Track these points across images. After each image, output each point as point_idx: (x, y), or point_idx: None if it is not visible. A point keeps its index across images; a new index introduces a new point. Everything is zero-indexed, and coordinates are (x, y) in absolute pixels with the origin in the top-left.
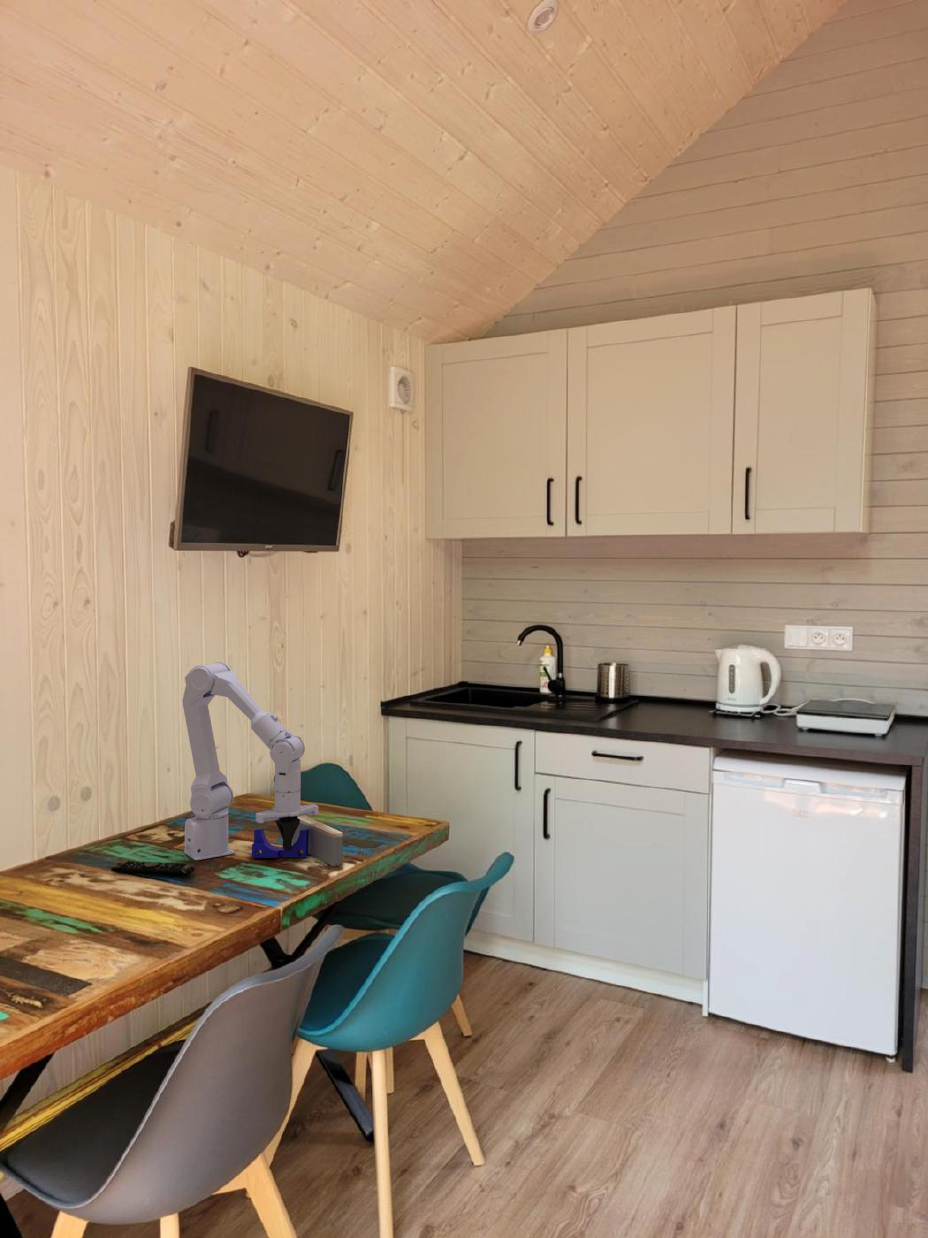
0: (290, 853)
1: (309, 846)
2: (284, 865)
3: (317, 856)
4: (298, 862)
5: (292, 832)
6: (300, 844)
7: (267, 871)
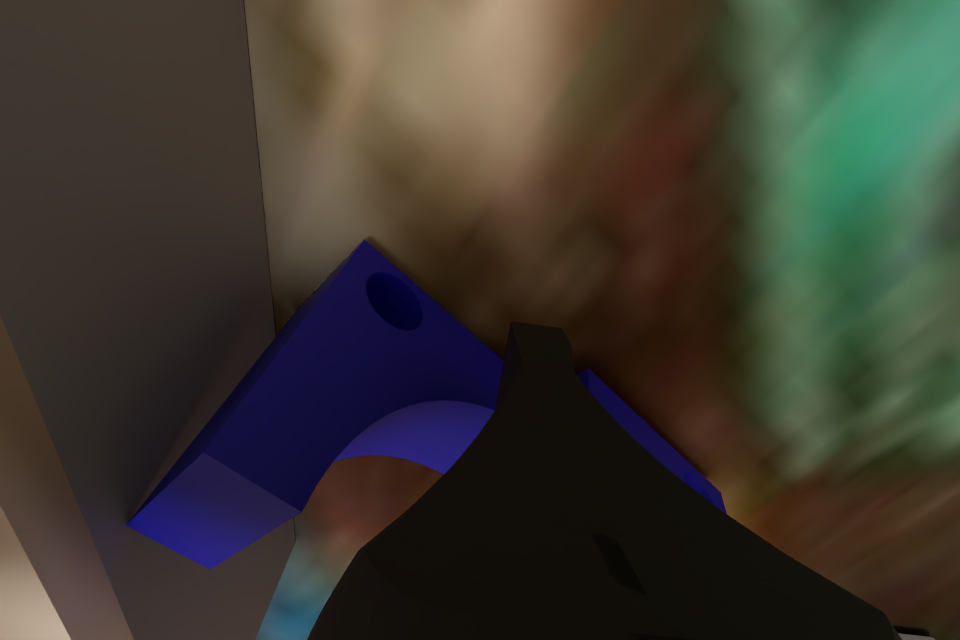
0: (469, 357)
1: (240, 365)
2: (636, 206)
3: (249, 170)
4: (476, 195)
5: (536, 449)
6: (364, 355)
7: (894, 151)
